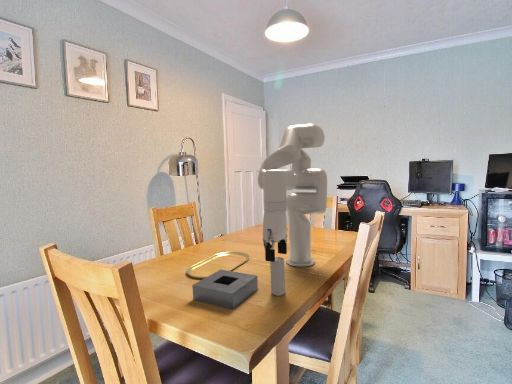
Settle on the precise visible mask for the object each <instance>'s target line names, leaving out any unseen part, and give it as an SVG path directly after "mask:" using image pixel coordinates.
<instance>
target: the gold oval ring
mask: <svg viewBox="0 0 512 384" xmlns="http://www.w3.org/2000/svg"><path fill="white" fill-rule="evenodd" d="M231 255H232V256H233V255H235V256H241V257H244V258H245V260H243V261H242V262H240V263H239V264H237V265H236V266H234V267H232V268H231V269H229V270H228V271H233V270H235V269H237V268H239V267H240V266H241V265H242V264H243V265H244V264H245V263H246V262H247V261H249V259H250V255H249V254H248V253H246V252H242V251H226V252H219V253H216V254H214V255H211V256H209V257H207V258H205V259H203V260H201V261H199V262H197V263H195V264H193V265H191V266H189V267H188V268H187V269H186V273H187V275H188V276H190V277H191V278H194V279H199V280H200V279H201V280H203V279H204V278H206V277H207V276H198V275H193V274H192V272H193V271H194V270H195V269H197V268H200V267H201V266H203V265H206V264H207V263H210V262H211V261H213V260H216V259H217V258H220V257H223V256H231ZM212 259H213V260H212Z"/></svg>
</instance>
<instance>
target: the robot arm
mask: <svg viewBox="0 0 512 384" xmlns="http://www.w3.org/2000/svg"><path fill="white" fill-rule="evenodd" d="M324 143H325V133H324V130H323V128H321V127H320V126H319V125H317V124H314V123H305V124H295V125H289V126H287V128H285V130H284V132H283V135H282V138H281V141H280V144H279V148H278V149H277V150H275V151H273V152H272V153H271V154H270V155H268V156H266V158H264V160H263V162H262V164H261V166H260V168H259V172H258V175H257V184H258V187H259V188H260V189H261V190H263V209H264V211H263V212H264V213H263V219H262V220H263V221H262V242H263V247H264V251H265V252H264V255H265V256H264V257H265V261H266V262H269V263H270V262H274V261H275V257H276V250H275V248H274V247H275V244H276V243H277V254H283V255H287V254H288V245H289V257H287V258H286V260H285V261H286V264H288V265H290V266H292V267H300V268H303V267H311V266H312V265H314V264H315V261H316V259H314V258H313V257H312V246H311V245H312V243H311V242H312V239H311V237H312V236H311V235H312V234H311V222H310V220H309V218H308V217H307V216H306V215H323V214H325V212H326V210H327V202H328V199H327V198H328V197H327V196H328V176H327V175H328V174H327V173H326V170H325V169H323V168H311V167H312V166H311V164H312V160H311V156H310V155H309V154H308V153H307V152H306V151H305V150H304V149H310V148H312V149H313V148H321V147H322V146H324ZM290 164H291V169H290V168H284V169H283V167H286V166H288V165H290ZM280 168H282V169H280ZM292 190H295V191H296V192H291V193H289V194H287V191H292ZM297 191H298V192H297ZM300 191H301V192H300ZM302 191H303V192H302ZM305 191H306V192H305ZM307 191H308V192H307ZM309 191H315V192H309ZM286 212H287V215H288V216H287V215H286ZM287 218H288V225H287ZM288 234H289V235H288ZM288 241H289V244H288Z"/></svg>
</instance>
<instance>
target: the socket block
mask: <svg viewBox="0 0 512 384" xmlns="http://www.w3.org/2000/svg"><path fill="white" fill-rule="evenodd" d="M205 277H206V278H204V279H201V280H199V281H197V282H196V283H194V284H192V300H193V301H198V302H202V303H206V304H209V305H213V306H217V307H218V306H219V307H223V308H226V309H230V310H234V309H235V308H236V307H238V306H239V305H241V304H242V303H243V302H245V300H247V299H248V298H249V297H250V296H251V295H253V294H254V293H255V292H256V291H258V290H259V285H258V284H259V283H258V280H259V279H258V275H256V274H250V273H245V272H238V271H233V270H232V271H229V270H226V269H221V268H220V269H219V270H217V271H215V272H213V273H211V274H210V275H208V276H205Z"/></svg>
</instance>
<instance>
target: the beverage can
mask: <svg viewBox="0 0 512 384" xmlns="http://www.w3.org/2000/svg"><path fill="white" fill-rule="evenodd" d="M269 264H270V265H269V266H270V290H271V293H272V295H274V296H278V297H279V296H283V295H284V294H285V293H286V272H285V271H286V270H285V268H286V267H285V258H284V257H280V256H275V261H274V262H270V261H269Z"/></svg>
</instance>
